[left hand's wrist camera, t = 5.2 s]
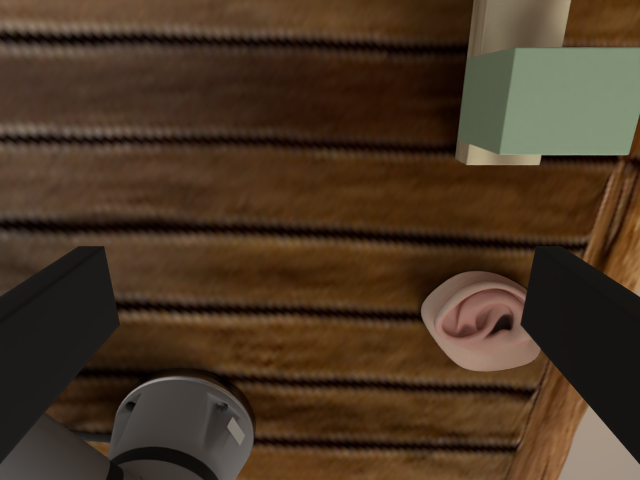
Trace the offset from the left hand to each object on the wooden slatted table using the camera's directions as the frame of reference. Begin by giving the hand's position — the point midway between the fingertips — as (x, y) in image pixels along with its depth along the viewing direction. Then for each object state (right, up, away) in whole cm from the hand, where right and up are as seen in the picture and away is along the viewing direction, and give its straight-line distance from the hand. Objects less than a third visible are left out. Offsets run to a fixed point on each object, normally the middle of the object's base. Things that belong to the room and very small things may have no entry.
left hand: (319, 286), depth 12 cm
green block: (+15, +12, +19) cm, 27 cm away
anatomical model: (+17, -7, +29) cm, 34 cm away
